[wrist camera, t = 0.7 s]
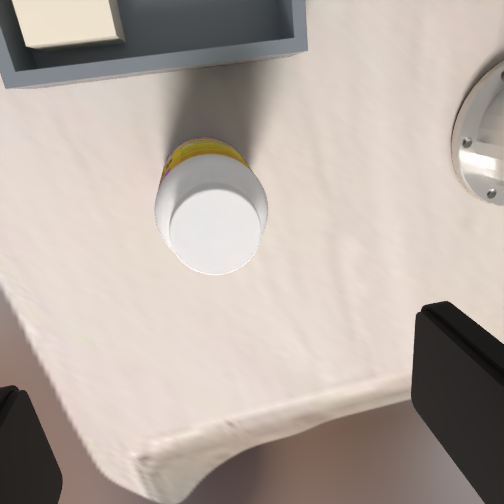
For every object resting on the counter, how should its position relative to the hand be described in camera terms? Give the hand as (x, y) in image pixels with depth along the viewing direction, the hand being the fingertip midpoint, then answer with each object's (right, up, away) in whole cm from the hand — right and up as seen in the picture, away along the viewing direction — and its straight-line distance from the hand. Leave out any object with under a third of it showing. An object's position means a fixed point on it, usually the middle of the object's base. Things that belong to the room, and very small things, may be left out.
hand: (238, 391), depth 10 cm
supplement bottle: (-3, +9, +22) cm, 24 cm away
